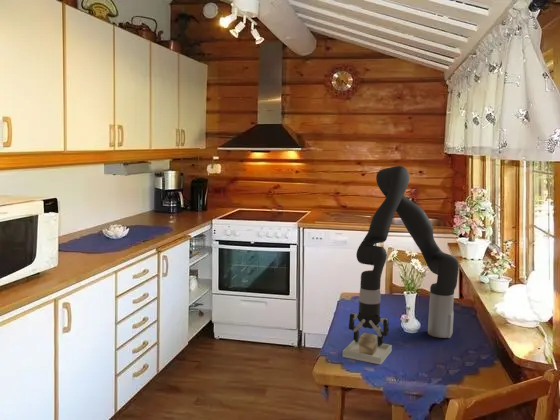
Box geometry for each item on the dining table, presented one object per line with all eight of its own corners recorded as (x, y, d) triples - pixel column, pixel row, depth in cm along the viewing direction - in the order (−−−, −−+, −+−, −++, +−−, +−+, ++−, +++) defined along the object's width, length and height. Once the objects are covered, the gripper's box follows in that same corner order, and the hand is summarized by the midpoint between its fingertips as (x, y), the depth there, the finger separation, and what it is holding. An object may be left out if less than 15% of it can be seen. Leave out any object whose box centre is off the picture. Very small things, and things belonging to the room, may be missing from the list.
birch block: (376, 350, 202) (377, 335, 201) (372, 355, 197) (373, 339, 196) (363, 348, 204) (363, 332, 203) (359, 352, 199) (359, 336, 199)
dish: (391, 351, 204) (391, 345, 203) (380, 364, 191) (380, 358, 191) (355, 344, 210) (355, 338, 210) (342, 356, 198) (342, 350, 197)
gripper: (392, 300, 198) (390, 343, 200) (354, 294, 205) (352, 336, 207) (386, 305, 192) (384, 350, 194) (347, 299, 198) (345, 343, 200)
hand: (367, 343), depth 200 cm, fingers open, 8 cm apart
